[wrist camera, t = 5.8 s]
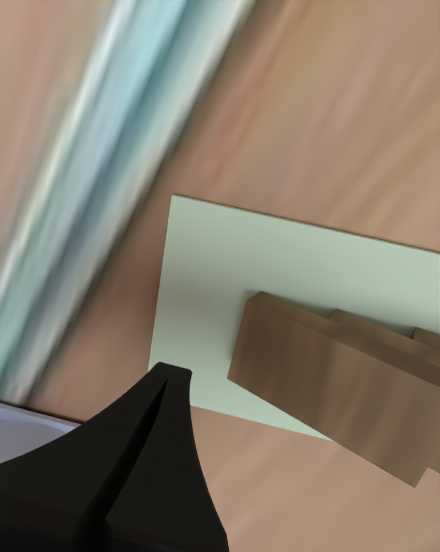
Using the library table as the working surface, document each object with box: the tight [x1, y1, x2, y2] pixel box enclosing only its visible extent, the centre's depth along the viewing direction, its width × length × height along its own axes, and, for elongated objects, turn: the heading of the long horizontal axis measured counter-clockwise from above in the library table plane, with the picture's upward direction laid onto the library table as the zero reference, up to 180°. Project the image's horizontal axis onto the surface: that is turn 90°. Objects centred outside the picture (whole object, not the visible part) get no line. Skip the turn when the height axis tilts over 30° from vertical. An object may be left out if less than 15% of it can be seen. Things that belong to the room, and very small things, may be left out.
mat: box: [148, 194, 440, 441], centre depth 18 cm, size 28×12×1 cm, turn 79°
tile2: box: [328, 309, 440, 473], centre depth 15 cm, size 2×5×9 cm
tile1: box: [227, 291, 440, 488], centre depth 15 cm, size 2×5×9 cm
